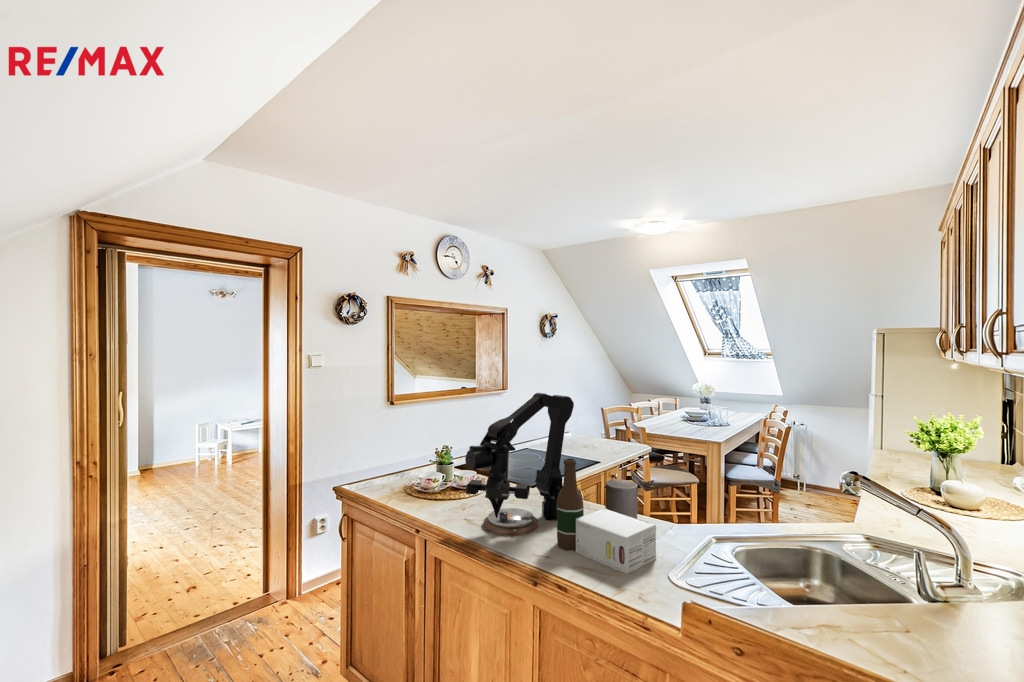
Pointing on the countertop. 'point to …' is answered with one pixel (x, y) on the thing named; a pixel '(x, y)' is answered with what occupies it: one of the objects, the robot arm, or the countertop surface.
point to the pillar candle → (621, 497)
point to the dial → (511, 518)
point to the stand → (511, 532)
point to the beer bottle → (568, 508)
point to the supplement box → (616, 540)
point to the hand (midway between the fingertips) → (496, 517)
